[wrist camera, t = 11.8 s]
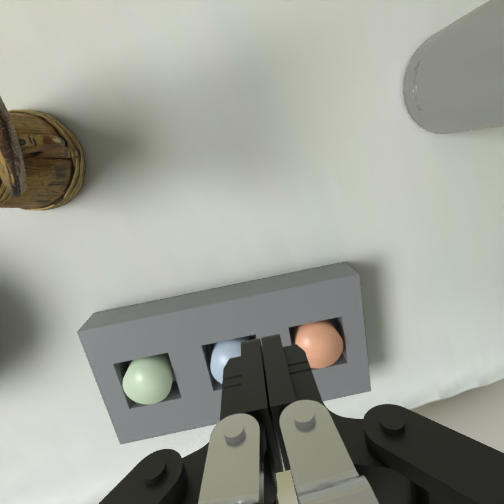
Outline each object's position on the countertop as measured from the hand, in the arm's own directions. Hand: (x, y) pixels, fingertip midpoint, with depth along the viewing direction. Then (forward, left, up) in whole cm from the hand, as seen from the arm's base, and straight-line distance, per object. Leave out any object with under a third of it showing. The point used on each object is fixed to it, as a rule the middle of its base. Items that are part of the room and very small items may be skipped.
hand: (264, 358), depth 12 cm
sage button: (+12, +13, -21) cm, 27 cm away
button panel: (+3, +13, -22) cm, 26 cm away
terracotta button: (-6, +13, -21) cm, 25 cm away
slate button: (+3, +13, -21) cm, 25 cm away
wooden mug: (+15, -10, -23) cm, 29 cm away
